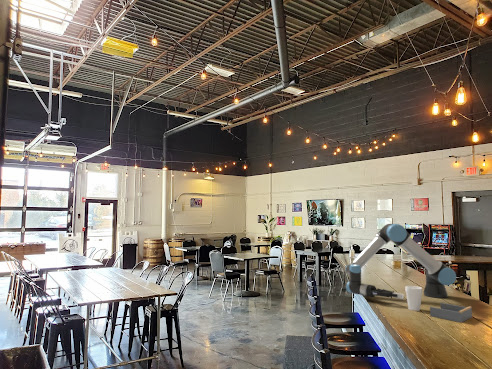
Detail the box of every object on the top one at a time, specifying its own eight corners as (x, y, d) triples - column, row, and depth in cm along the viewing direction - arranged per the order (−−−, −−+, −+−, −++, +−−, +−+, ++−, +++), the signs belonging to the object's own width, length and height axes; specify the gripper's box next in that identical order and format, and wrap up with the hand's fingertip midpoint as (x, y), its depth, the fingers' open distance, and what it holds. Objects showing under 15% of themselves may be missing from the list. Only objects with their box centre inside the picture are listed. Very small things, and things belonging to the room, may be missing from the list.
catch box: (441, 311, 214) (441, 301, 214) (471, 317, 202) (471, 306, 202) (430, 316, 203) (429, 305, 204) (461, 322, 191) (461, 311, 192)
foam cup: (413, 311, 212) (412, 289, 213) (402, 307, 221) (401, 286, 222) (426, 310, 215) (425, 288, 216) (415, 306, 224) (414, 285, 225)
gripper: (373, 294, 245) (408, 301, 227) (363, 297, 236) (398, 304, 218) (373, 283, 245) (407, 289, 227) (363, 285, 237) (398, 291, 219)
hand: (403, 296), depth 223 cm, fingers closed
